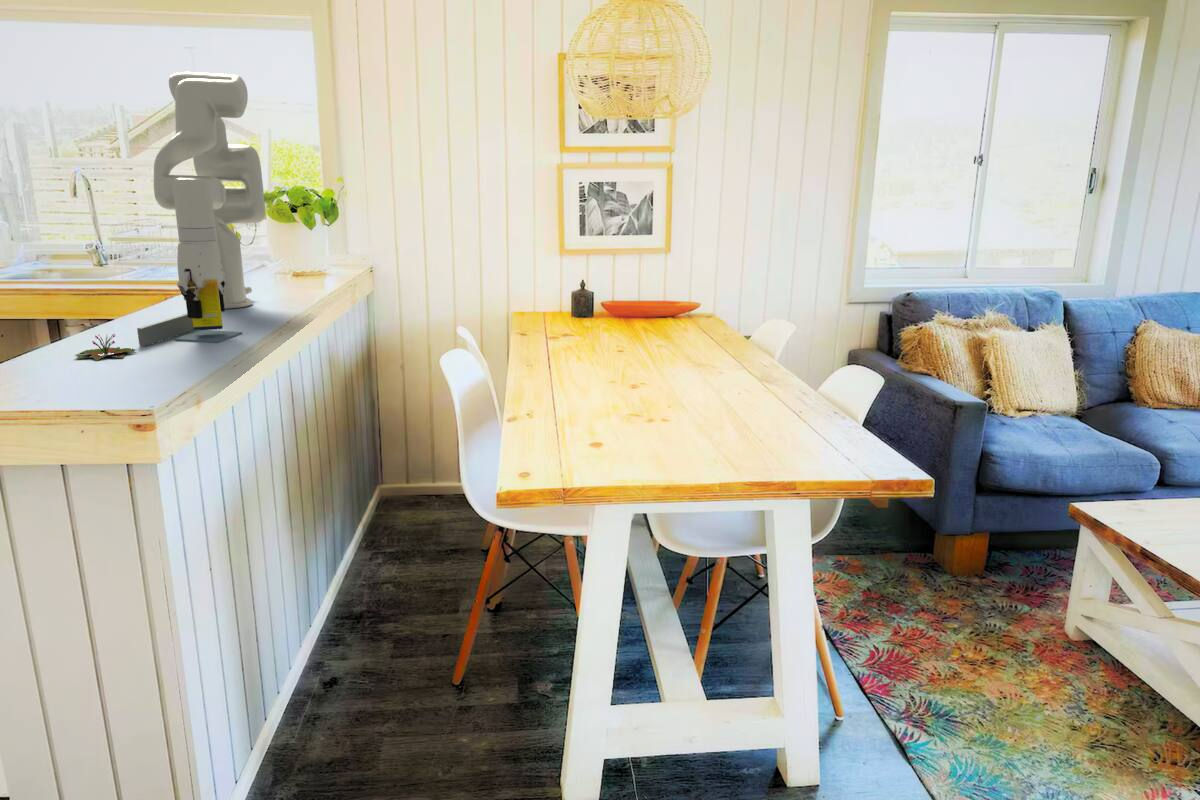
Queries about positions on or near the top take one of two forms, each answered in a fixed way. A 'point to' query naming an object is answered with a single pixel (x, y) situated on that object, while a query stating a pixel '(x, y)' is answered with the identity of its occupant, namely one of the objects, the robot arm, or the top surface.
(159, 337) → the low wall
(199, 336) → the rubber mat
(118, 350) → the lily flower
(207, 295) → the supplement box
